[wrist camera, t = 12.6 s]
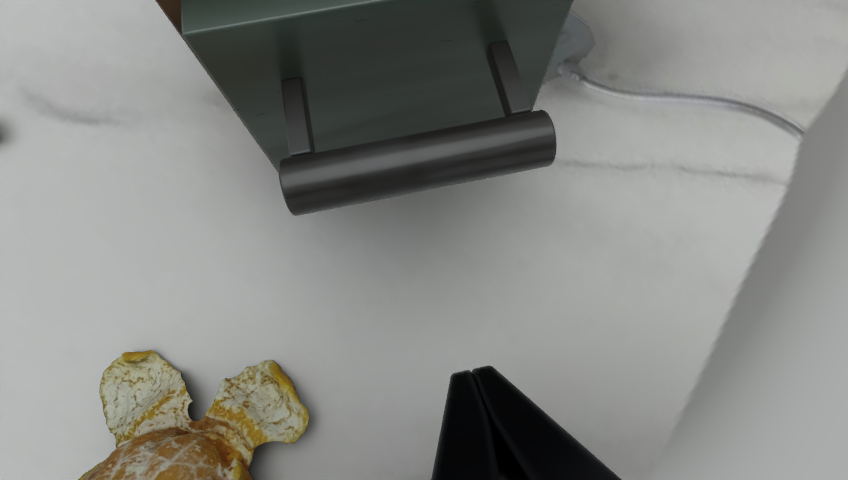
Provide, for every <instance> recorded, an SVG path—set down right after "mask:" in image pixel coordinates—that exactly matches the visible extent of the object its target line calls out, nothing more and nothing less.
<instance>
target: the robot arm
mask: <svg viewBox="0 0 848 480" xmlns="http://www.w3.org/2000/svg"><path fill="white" fill-rule="evenodd" d="M431 480H621V479H620V478H619V477H618V476H617V475H616V474H614V473H613V472H612V471H611V470H610V469H609V468H608V467H606V466H605V465H604V464H603V463H602V462H601V461H600V460H598V459H597V458H596V457H595V456H594V455H593V454H592V453H591V452H589V451H588V450H587V449H586V448H585V447H584V446H583V445H581V444H580V443H579V442H578V441H577V440H576V439H575V438H573V437H572V436H571V435H570V434H569V433H568V432H567V431H565V430H564V429H563V428H562V427H561V426H560V425H559V424H557V423H556V422H555V421H554V420H553V419H552V418H551V417H549V416H548V415H547V414H546V413H545V412H544V411H543V410H541V409H540V408H539V407H538V406H537V405H536V404H535V403H533V402H532V401H531V400H530V399H529V398H528V397H527V396H525V395H524V394H523V393H522V392H521V391H520V390H519V389H517V388H516V387H515V386H514V385H513V384H512V383H511V382H509V381H508V380H507V379H506V378H505V377H504V376H503V375H501V374H500V373H499V372H498V371H497V370H496V369H495V368H493V367H492V366H484V367H480V368H475V369H473V370H472V372H471V371H469V370H466V371H462V372H457V373H453V374H452V375H451V379H450V384H449V389H448V394H447V400H446V405H445V410H444V416H443V421H442V426H441V431H440V437H439V442H438V447H437V453H436V458H435V463H434V468H433V474H432V479H431Z"/></svg>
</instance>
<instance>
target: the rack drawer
mask: <svg viewBox="0 0 848 480" xmlns="http://www.w3.org/2000/svg"><path fill="white" fill-rule="evenodd" d="M572 3H573V0H181V19H182V35H183V37H184V38H185V40H186V41H187V43H188V44H189V45H190V47H191V48H192V50H193V51H194V52H195V54H196V55H197V57H198V58H199V60H200V61H201V62H202V64H203V65H204V67H205V68H206V69H207V71H208V72H209V74H210V75H211V76H212V78H213V79H214V81H215V82H216V83H217V85H218V86H219V88H220V89H221V91H222V92H223V93H224V95H225V96H226V98H227V99H228V100H229V102H230V103H231V105H232V106H233V107H234V109H235V110H236V112H237V113H238V114H239V116H240V117H241V119H242V120H243V122H244V123H245V124H246V126H247V127H248V129H249V130H250V131H251V133H252V134H253V136H254V137H255V138H256V140H257V141H258V143H259V144H260V146H261V147H262V148H263V150H264V151H265V153H266V154H267V155H268V157H269V158H270V160H271V161H272V162H273V164H274V165H275V167H276V168H277V169H278V171H279V179H280V185H281V189H282V193H283V196H284V199H285V202H286V204H287V207H288V208H289V210H290V212H291V213H292V214H293V215H295V216H297V215H303V214H308V213H313V212H318V211H323V210H328V209H333V208H338V207H343V206H348V205H353V204H358V203H363V202H369V201H374V200H379V199H384V198H389V197H394V196H399V195H404V194H409V193H414V192H419V191H424V190H429V189H435V188H440V187H445V186H450V185H455V184H460V183H465V182H470V181H475V180H480V179H485V178H490V177H496V176H501V175H506V174H511V173H516V172H521V171H526V170H531V169H536V168H541V167H546V166H550V165H551V164H552V163H553V161H554V159H555V155H556V135H555V129H554V126H553V123H552V120H551V118H550V116H549V115H548V113H547V112H546V111H543V110H539V111H533V112H532V109H533V106H534V104H535V101H536V98H537V96H538V93H539V90H540V88H541V85H542V83H543V80H544V77H545V75H546V72H547V69H548V67H549V64H550V61H551V59H552V56H553V53H554V51H555V48H556V45H557V43H558V40H559V37H560V35H561V32H562V29H563V27H564V24H565V21H566V19H567V16H568V13H569V11H570V8H571V5H572Z"/></svg>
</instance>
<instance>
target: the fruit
mask: <svg viewBox="0 0 848 480" xmlns="http://www.w3.org/2000/svg"><path fill="white" fill-rule="evenodd" d="M180 375H181V372H179V371H177V370H175V369H174V368H173V367H172V366H171V365H170V364H169V363H168V361H165V360H163V359H161V358H160V357H159V355H158V354H157V353H155V352H153V351H151V350H149V351H146V352H126V353H123V354H122V356H121V357H119V358H118V359H116V360H115V361H113V362H112V364H111V366H109V367H108V368H107V369H106V370H105V371H104V373H103V377H102V380H101V384H100V397H101V400H102V403H103V411H104V415H105V417H106V424H107V426H108V428H109V430H110V433H113V434H114V435H115V438H116V447H117V449H116V450H115V451H113V452H112V453H111V455H110V456H109V458H107V459H106V460H105V461H103V462H102V463H99V464H97V465H96V466H95V467H94V468H93V469H91V470H90V471H88V472H86V473H85V474H84V475H83V476H82V477H81V478H79V479H78V480H254V479H253V478H251V476H250V474H249V473H248V468H249V466H250V463H251V461H252V456H253V453H254V449H255V448H256V447H257V446H259V445H261V444H262V443H265V442H271V441H282V442H284V443H286V444H287V443H294V442H295V441H297V440H298V439H299V438H300V437H301V436H302V434H303V433H304V432H305V431H306V428H307V426H308V423H309V415H308V410H307V408H306V407H305V406H304V405H303V404H301V403H300V401H299V397H298V395H297V394H296V392H295V387H294V386H293V382H292V381H291V379H290V378H289V377H288V376H287V375H286V374H285V373H284V372H283V371H282V370H281V368H280V366H279V365H278V364H275V363H274V361H273V360H268V361H263V362H262V363H260V364H258V365H256V366H254V367H246V368H245V370H244V371H243V372H242V373H241V374H240V375H238V376H237V377H234V378H230V379H227V378H225V379H224V380H222V381H221V384H220V388H219V390H218V393H217V395H216V397H215V399H214V403H213V405H212V407H211V408H210V409H209V410H208V411H207V412H206V413H205V416H204V417H203V418H202V419H201V420H199V421H193V420H192V419H190V417H189V415H188V405H189V403H190V402H193V400H191V399H190V396H189V394H188V392H187V391H186V386H185V382H184V381H183V380H182V378H181V376H180Z"/></svg>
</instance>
